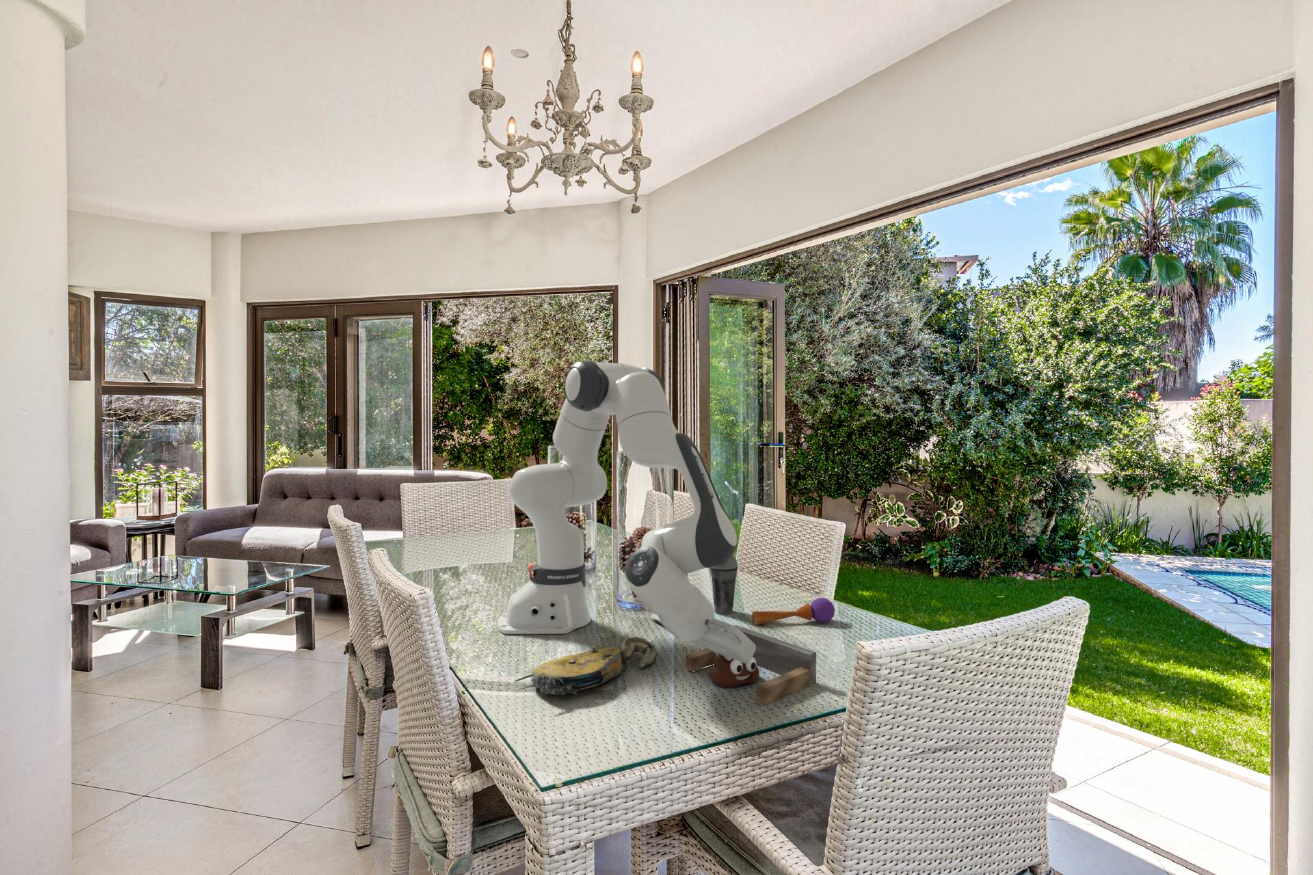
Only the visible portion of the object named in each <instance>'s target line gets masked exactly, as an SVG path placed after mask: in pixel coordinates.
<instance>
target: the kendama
mask: <svg viewBox="0 0 1313 875" xmlns="http://www.w3.org/2000/svg"><path fill="white" fill-rule="evenodd" d="M835 611H836V609H835V606H834V603H833V602H832V601H830V600H829V599H828V598H825V597H817V598H815V599H814V600H812V602H811V603H809V602H807V603H805V604H804V605H802V606H800V607H799V608H797V609H796V610H791V611H790V610H786V611H785V610H784V611H782V610H779V611H778V610H774V611H769V610H768V611H767V610H766V611H765V610H764V611H761V610H760V611H758V610H757V611H756V610H754V611H752V622H753V624H754V623H755V624H754V626H758V625H763V624H766V623H771V622H775V621H779V620H784V619H788V618H792V617H798V618H801V619H803V620H804V619H805V620H807V621H812V620H814V621H815V622H816V623H819V624H824V623H825V624H826V623H829V622H830V621H832V620H833V618H834V616H835Z"/></svg>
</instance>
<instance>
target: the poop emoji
mask: <svg viewBox="0 0 1313 875" xmlns="http://www.w3.org/2000/svg"><path fill="white" fill-rule="evenodd" d="M710 667H711V668H710V669H709V672H708V673H709V675H708V676H709V678H710V681H711V682H712V683H714V684H715V685H716V686H720V687H725V688H734V687H738V686H741V685H743V684H748V685H749V684H753V683H755V682H757V681H758V679H759V678H760V670H759V666H758V665H756V660H755V659H754V658H753V657H752V658H751V659H750V661H749V662H748V663H747V664H745V663H742V662H740V661H737V660H735V659H732V658H731V660H730V661H729V660H727V659H724V658H722V657H719V656H717V655H716V656H715V658H714V665H713V666H710Z"/></svg>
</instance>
